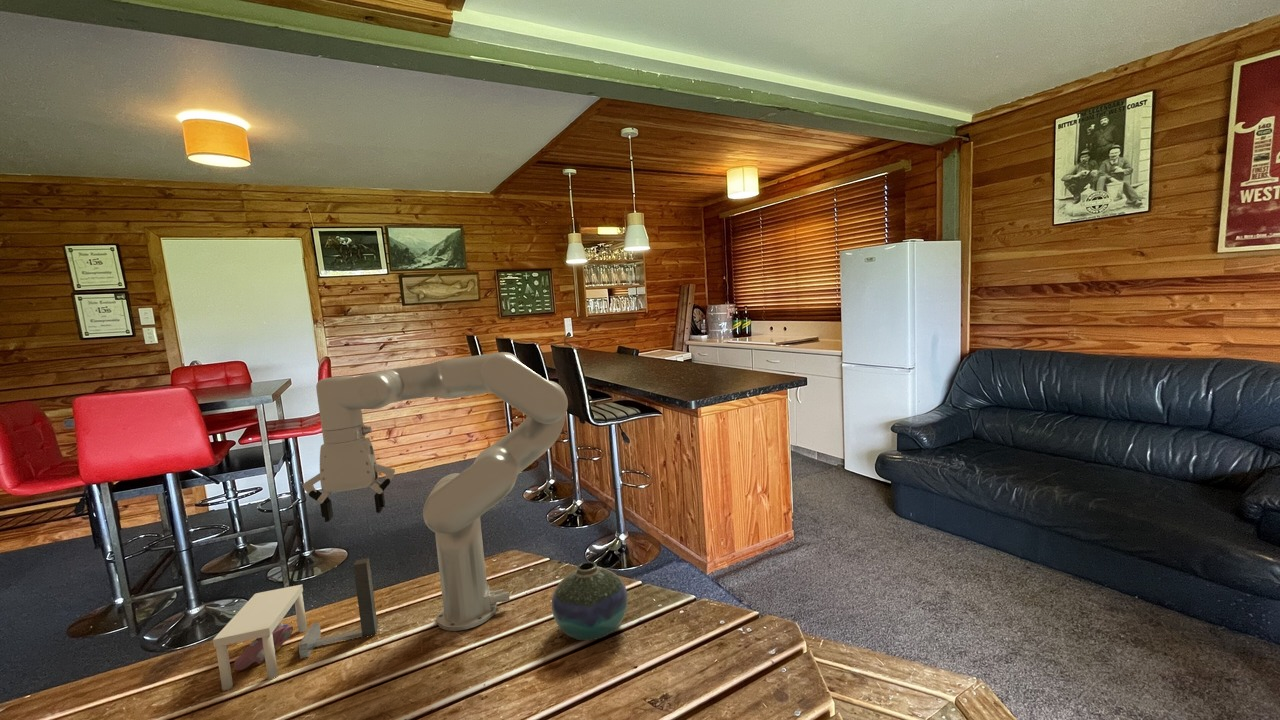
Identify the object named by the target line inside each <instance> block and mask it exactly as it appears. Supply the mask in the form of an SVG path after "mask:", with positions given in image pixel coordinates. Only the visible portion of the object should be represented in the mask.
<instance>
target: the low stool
mask: <svg viewBox="0 0 1280 720" xmlns="http://www.w3.org/2000/svg"><path fill="white" fill-rule="evenodd" d="M303 592H304V588H303V584H298V585H293V586H292V585H291V586H287V587H281V588H277V589H272V590H267V591H261V592H257V593H254V594H253V595H252V597H251V598H250V599H249V600H248V601H247V602H246V603H245V604H244V605H243V606H242V607H241V609H239V611H238V612H236V614H235V615H234V616H233V617H232V618H231V619H230V620H229V621H228V622H227V624H226V625H225V626H224V627H223V628H222V629H221V630H220V631H219V632H218V634H216V636H214V638H213V639H212V643H213V648H215V649H216V657H217V658H216V659H217V664H218V665H217V666H218V671H219V678H220V684H221V690H222V692H224V691H227V690H230V689H232V688H233V686H234V683H233V678H232V670H231V664H230V662H231V661H230V657H229V650H228V645H233V644H236V643H242V642H246V641H251V640H252V641H253V640H256V639H257V638H261V637H262V641H263V648H264V655H265V660H264V661H265V668H266V676H267V680H268V679H271V678H274V677H276V676H277V675H278V676H279V671H278V665H277V657H276V653H275V649H274V642H273V635H272V632H273V631H274V630H275V628H276V627H277V626H278V625H279V623H282V620H283V619H284V618H285V616H286V615H287V613H288V612H289V611H290V609H291V608H292V607H293V605H294V608H295V616H296V617H295V618H296V623H297V630H298V631H297V632H298V633H304V632H307V630H308V627H307V626H308V625H307V619H306V618H307V617H306V611H305V603H304V596H303V595H304V594H303ZM278 676H277V677H278ZM277 677H276V678H277ZM274 679H275V678H274ZM271 680H272V679H271Z"/></svg>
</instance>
